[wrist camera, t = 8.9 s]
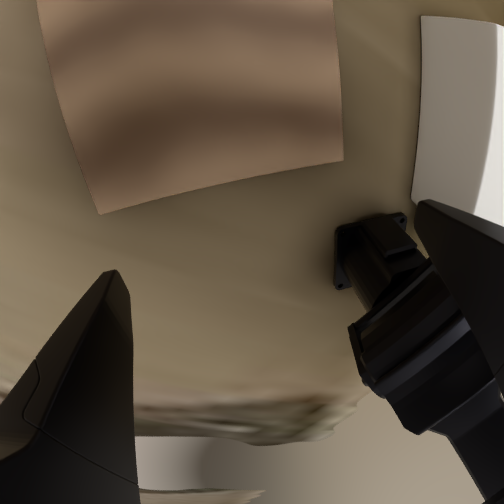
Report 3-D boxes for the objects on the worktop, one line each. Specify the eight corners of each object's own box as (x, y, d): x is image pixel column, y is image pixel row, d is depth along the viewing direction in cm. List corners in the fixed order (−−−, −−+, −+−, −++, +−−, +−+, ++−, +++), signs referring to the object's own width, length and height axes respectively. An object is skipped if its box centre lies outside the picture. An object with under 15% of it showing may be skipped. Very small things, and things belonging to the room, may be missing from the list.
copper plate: (337, 155, 20) (343, 160, 20) (102, 207, 19) (99, 215, 19) (301, -116, 8) (307, -122, 7) (36, -64, 7) (30, -68, 6)
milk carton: (551, 48, 10) (501, 270, 21) (482, 31, 15) (457, 225, 27) (496, 20, 9) (447, 291, 21) (419, 13, 15) (402, 238, 26)
